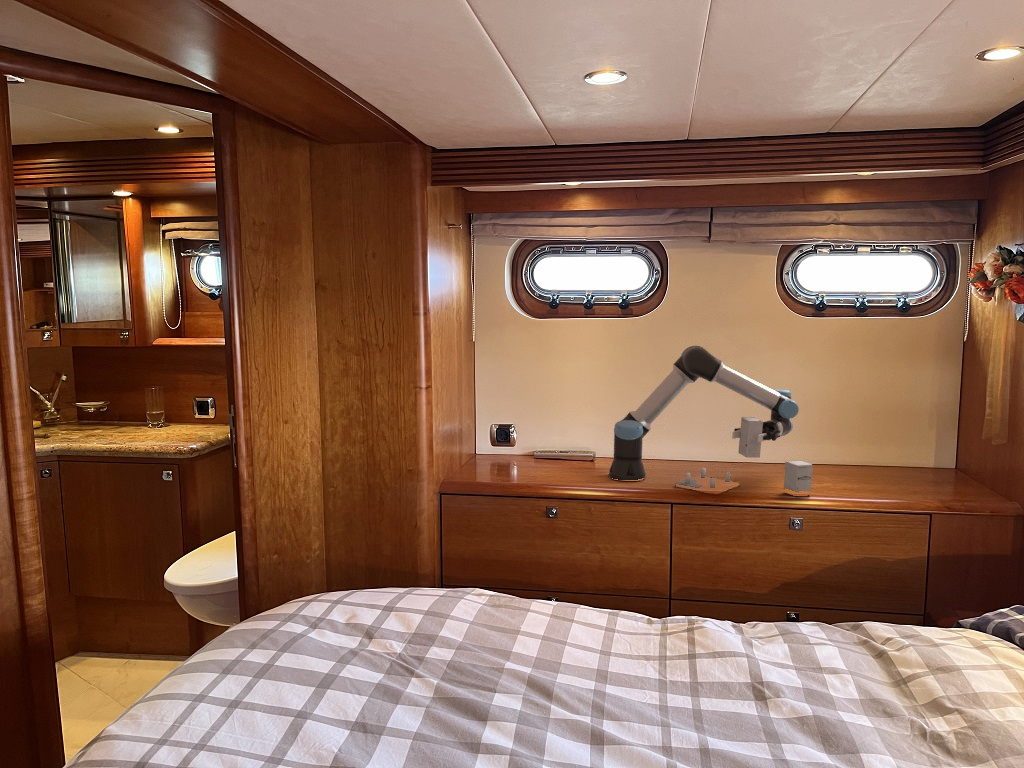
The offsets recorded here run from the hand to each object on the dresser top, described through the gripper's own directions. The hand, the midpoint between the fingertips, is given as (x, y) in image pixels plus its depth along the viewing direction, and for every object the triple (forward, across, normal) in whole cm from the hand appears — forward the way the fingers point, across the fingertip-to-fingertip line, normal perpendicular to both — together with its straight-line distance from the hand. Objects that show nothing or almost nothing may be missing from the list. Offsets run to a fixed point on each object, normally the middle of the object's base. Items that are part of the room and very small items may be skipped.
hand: (745, 437), depth 288 cm
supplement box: (-11, -17, -22) cm, 30 cm away
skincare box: (-4, 0, -8) cm, 9 cm away
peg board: (+2, +14, -22) cm, 26 cm away
